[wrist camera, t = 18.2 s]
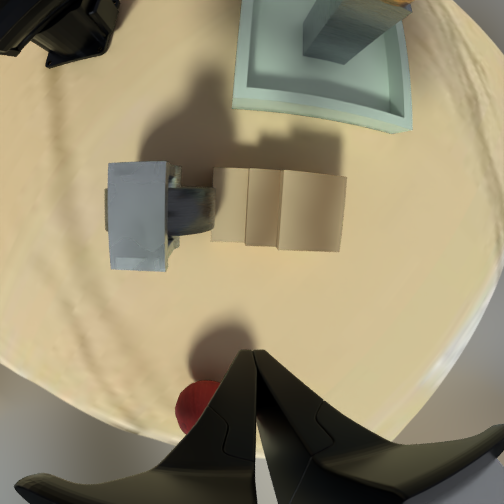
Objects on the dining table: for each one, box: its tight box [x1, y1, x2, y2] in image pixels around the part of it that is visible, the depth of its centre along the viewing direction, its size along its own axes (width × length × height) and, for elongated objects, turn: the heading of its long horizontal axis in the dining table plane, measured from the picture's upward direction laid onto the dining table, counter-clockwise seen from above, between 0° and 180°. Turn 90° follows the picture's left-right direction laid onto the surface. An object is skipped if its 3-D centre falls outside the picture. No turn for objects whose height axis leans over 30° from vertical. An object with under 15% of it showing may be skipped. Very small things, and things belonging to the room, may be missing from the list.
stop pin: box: [303, 0, 414, 65], centre depth 12 cm, size 4×4×11 cm
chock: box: [211, 167, 347, 252], centre depth 19 cm, size 8×5×4 cm, turn 87°
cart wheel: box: [105, 161, 216, 272], centre depth 16 cm, size 7×5×8 cm
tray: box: [232, 0, 412, 134], centre depth 16 cm, size 14×14×3 cm
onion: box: [175, 381, 220, 435], centre depth 21 cm, size 6×6×8 cm
